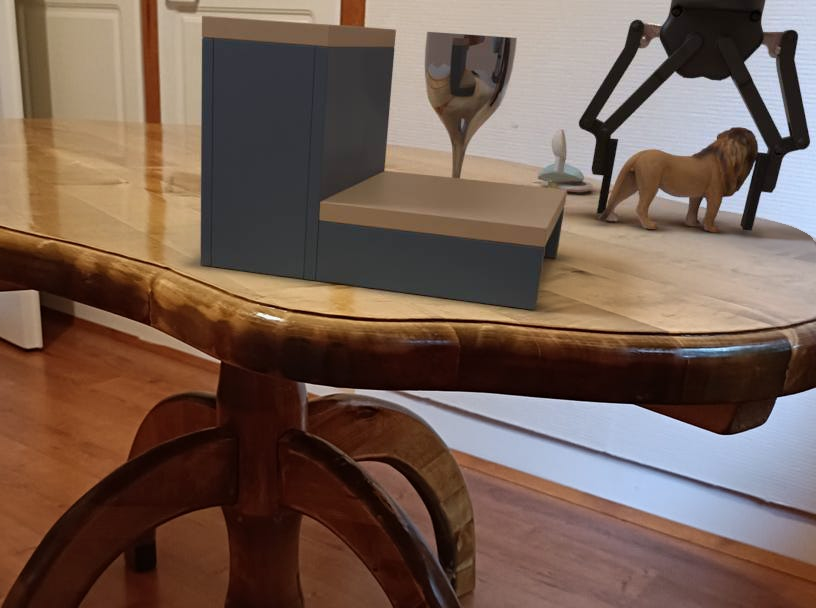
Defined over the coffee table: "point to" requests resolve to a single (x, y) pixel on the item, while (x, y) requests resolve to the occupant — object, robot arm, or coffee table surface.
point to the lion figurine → (687, 177)
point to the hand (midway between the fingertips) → (672, 220)
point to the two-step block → (347, 175)
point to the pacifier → (563, 169)
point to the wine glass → (466, 83)
